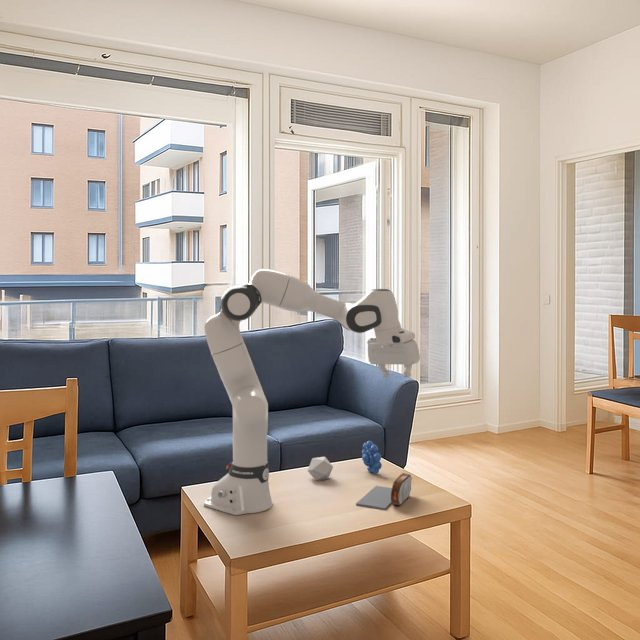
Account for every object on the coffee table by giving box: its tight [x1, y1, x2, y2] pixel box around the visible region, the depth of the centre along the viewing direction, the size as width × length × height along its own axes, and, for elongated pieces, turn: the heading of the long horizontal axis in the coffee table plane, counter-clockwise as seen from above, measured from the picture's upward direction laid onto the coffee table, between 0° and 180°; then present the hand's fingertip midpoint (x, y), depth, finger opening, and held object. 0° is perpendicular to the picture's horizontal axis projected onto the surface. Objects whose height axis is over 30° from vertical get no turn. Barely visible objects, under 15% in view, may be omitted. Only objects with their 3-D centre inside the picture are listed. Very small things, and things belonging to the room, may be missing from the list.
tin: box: [391, 472, 413, 506], centre depth 205 cm, size 15×3×8 cm, turn 155°
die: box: [307, 456, 334, 482], centre depth 229 cm, size 8×9×10 cm
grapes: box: [361, 440, 383, 475], centre depth 235 cm, size 12×7×12 cm, turn 29°
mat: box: [355, 485, 393, 511], centre depth 208 cm, size 10×19×1 cm, turn 155°
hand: (396, 376), depth 206 cm, fingers open, 8 cm apart
